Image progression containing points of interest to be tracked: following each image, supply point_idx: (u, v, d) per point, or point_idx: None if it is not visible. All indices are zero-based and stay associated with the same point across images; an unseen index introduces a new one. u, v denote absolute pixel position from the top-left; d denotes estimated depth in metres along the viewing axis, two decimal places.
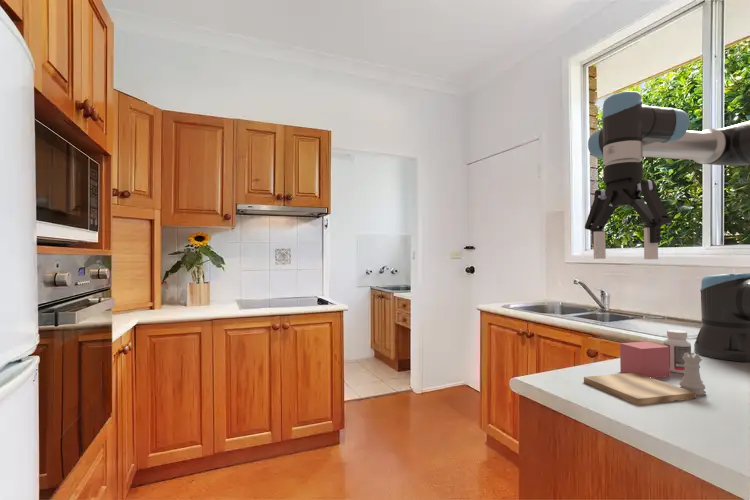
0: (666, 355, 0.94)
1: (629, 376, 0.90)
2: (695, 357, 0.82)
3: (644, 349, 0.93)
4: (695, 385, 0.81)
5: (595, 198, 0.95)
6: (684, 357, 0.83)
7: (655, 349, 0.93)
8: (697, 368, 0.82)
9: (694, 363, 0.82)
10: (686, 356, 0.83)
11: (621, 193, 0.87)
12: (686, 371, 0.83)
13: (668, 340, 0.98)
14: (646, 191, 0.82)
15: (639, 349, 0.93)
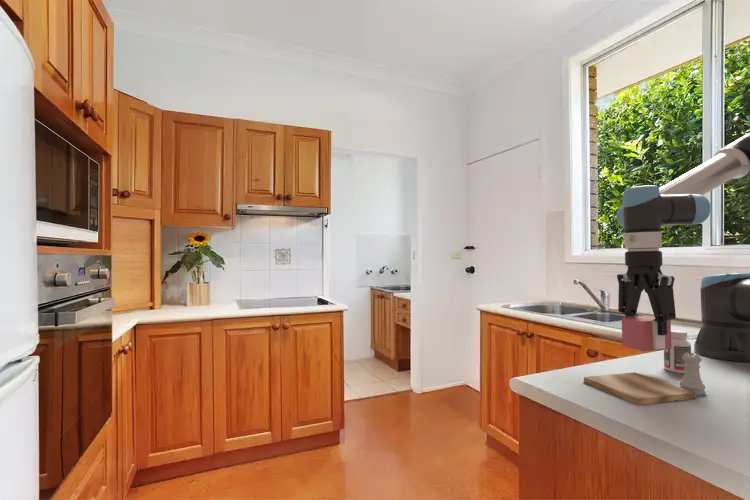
0: (668, 327, 0.94)
1: (629, 376, 0.90)
2: (695, 357, 0.82)
3: (645, 322, 0.93)
4: (695, 385, 0.81)
5: (619, 282, 1.02)
6: (684, 357, 0.83)
7: None
8: (697, 368, 0.82)
9: (694, 363, 0.82)
10: (686, 356, 0.83)
11: (642, 279, 0.95)
12: (686, 371, 0.83)
13: None
14: (663, 287, 0.90)
15: (640, 322, 0.93)
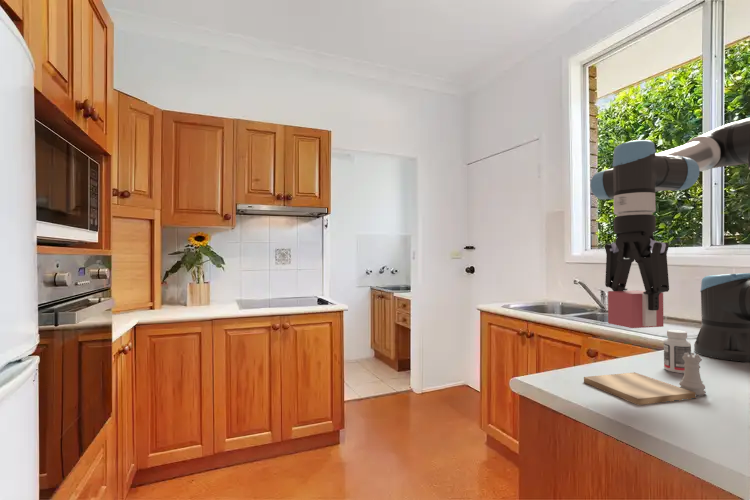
0: (660, 302, 0.83)
1: (629, 376, 0.90)
2: (695, 357, 0.82)
3: (634, 294, 0.81)
4: (695, 385, 0.81)
5: (607, 252, 0.90)
6: (684, 357, 0.83)
7: None
8: (697, 368, 0.82)
9: (694, 363, 0.82)
10: (686, 356, 0.83)
11: (632, 247, 0.83)
12: (686, 371, 0.83)
13: (668, 340, 0.98)
14: (656, 255, 0.79)
15: (629, 294, 0.81)
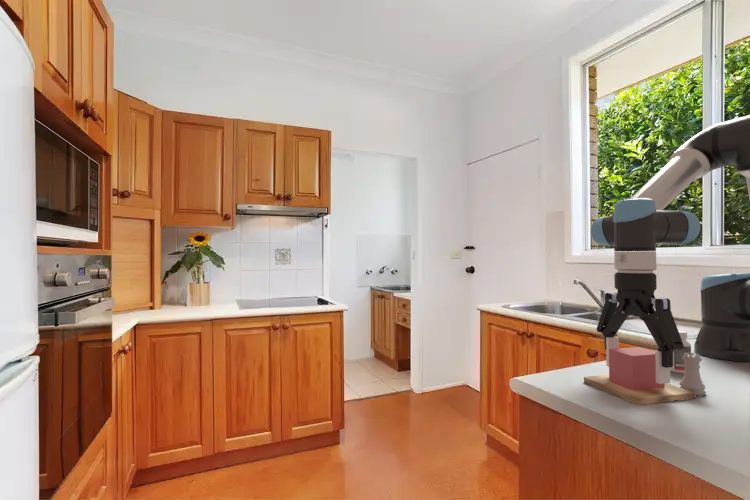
0: None
1: None
2: (695, 357, 0.82)
3: (635, 356, 0.81)
4: (695, 385, 0.81)
5: (606, 301, 0.91)
6: (684, 357, 0.83)
7: (648, 356, 0.82)
8: (697, 368, 0.82)
9: (694, 363, 0.82)
10: (686, 356, 0.83)
11: (634, 305, 0.83)
12: (686, 371, 0.83)
13: None
14: (660, 311, 0.78)
15: (630, 356, 0.81)
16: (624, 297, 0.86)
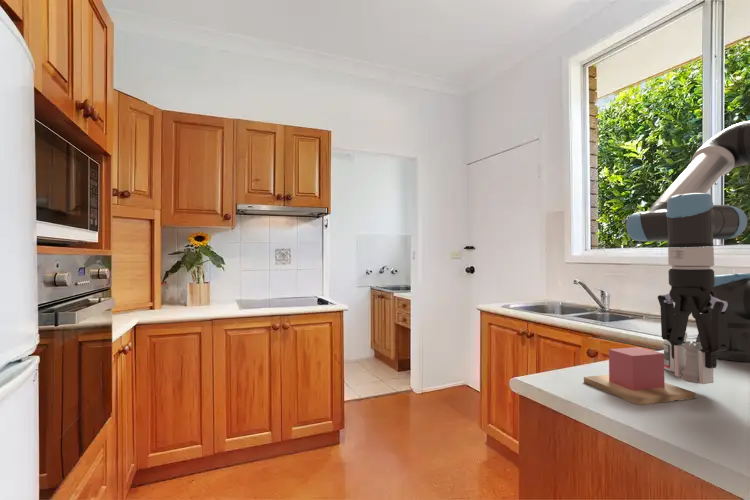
0: (661, 363, 0.82)
1: None
2: (696, 345, 0.82)
3: (635, 356, 0.81)
4: (697, 373, 0.81)
5: (661, 304, 0.89)
6: (685, 346, 0.83)
7: (648, 356, 0.82)
8: (698, 356, 0.82)
9: (695, 351, 0.82)
10: (687, 344, 0.83)
11: (690, 302, 0.81)
12: (688, 359, 0.83)
13: None
14: (717, 314, 0.77)
15: (630, 356, 0.81)
16: (678, 291, 0.85)
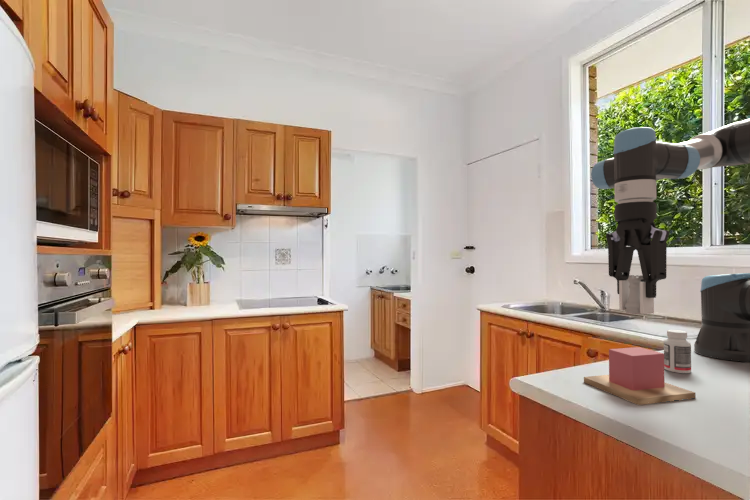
0: (661, 363, 0.82)
1: None
2: (638, 277, 0.84)
3: (635, 356, 0.81)
4: (639, 304, 0.83)
5: (609, 242, 0.90)
6: (629, 279, 0.85)
7: (648, 356, 0.82)
8: None
9: (638, 283, 0.84)
10: (630, 277, 0.85)
11: (633, 234, 0.83)
12: (630, 292, 0.85)
13: (668, 340, 0.98)
14: (656, 242, 0.79)
15: (630, 356, 0.81)
16: (623, 226, 0.86)
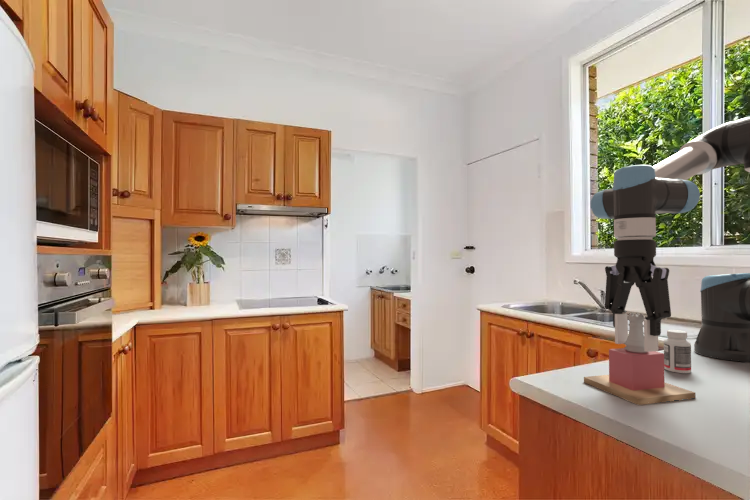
0: (661, 363, 0.82)
1: None
2: (638, 316, 0.84)
3: (635, 356, 0.81)
4: (638, 343, 0.83)
5: (607, 275, 0.90)
6: (628, 317, 0.85)
7: (648, 356, 0.82)
8: (640, 327, 0.83)
9: (637, 322, 0.84)
10: (630, 316, 0.85)
11: (633, 271, 0.83)
12: (630, 330, 0.85)
13: (668, 340, 0.98)
14: (657, 280, 0.79)
15: (630, 356, 0.81)
16: (623, 263, 0.86)
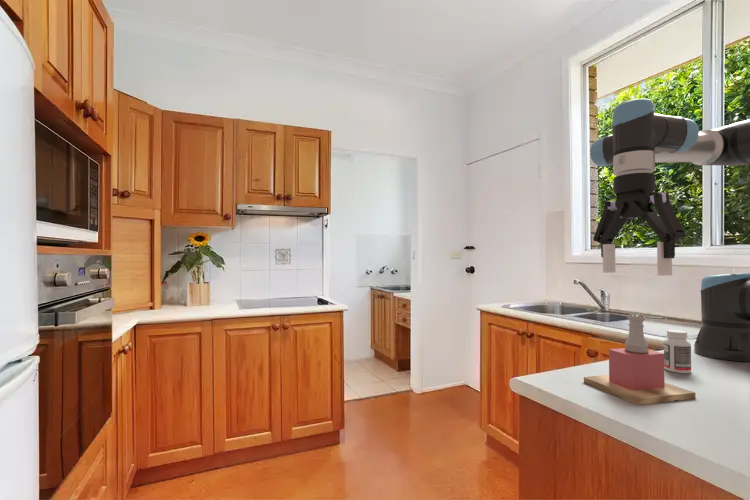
0: (661, 363, 0.82)
1: None
2: (638, 316, 0.84)
3: (635, 356, 0.81)
4: (638, 343, 0.83)
5: (604, 209, 0.91)
6: (629, 317, 0.85)
7: (648, 356, 0.82)
8: (640, 327, 0.83)
9: (637, 322, 0.84)
10: (630, 316, 0.85)
11: (632, 205, 0.83)
12: (630, 330, 0.85)
13: (668, 340, 0.98)
14: (659, 204, 0.78)
15: (630, 356, 0.81)
16: (623, 202, 0.86)
